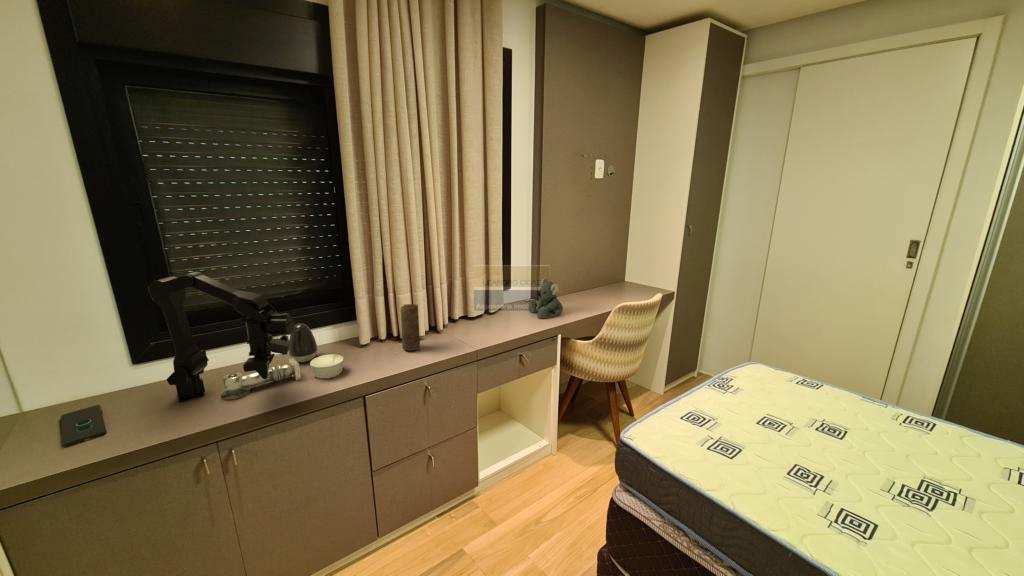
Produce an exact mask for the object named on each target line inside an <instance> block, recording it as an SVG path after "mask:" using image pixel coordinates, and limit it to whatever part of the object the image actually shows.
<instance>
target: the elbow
mask: <svg viewBox="0 0 1024 576" xmlns="http://www.w3.org/2000/svg"><path fill="white" fill-rule="evenodd" d="M222 380H223V386H224V391H225V392H226V395H236V394H239V393H241V392H243V391H244V390H245V389H246V388H250V389H251V388H252V387H256V386H259V385H263V384H267V383H270V382H273V383H274V382H275V383H276V382H278V381H280V379H279V374H278V370H277V365H273V366H269V370H268V378H267V379H263V378H262V377H261V376H260V375H259V374H258V373H257V372H256V371H255V372H253V373H252V372H251V373H248V374H245V375H243V373H242V372H233V373H229V374H226V375H224V376H223V377H222Z"/></svg>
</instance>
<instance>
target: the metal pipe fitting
mask: <svg viewBox="0 0 1024 576" xmlns="http://www.w3.org/2000/svg"><path fill="white" fill-rule="evenodd" d="M276 368H277V370H278V374H279V381H283V380H284V379H285V378H288V377H293V378H294V379H295V381H300V380H302V378H301V377H302V376H301V371H300V370H301V369H300V363H299V362H297V361H296V360H295V359H294V358H291V357H290V358H288V363H285V364H283V365H281V364H276ZM250 392H251V387H250V388H246V389H245V390H244V391H243V392H241V393H239V394H236V395H226V392H225V390H224V391H222V392H221V394H220V398H221V400H224V401H233V400H238V399H241V398H243V397H246V396H247V395H248V394H249V393H250Z"/></svg>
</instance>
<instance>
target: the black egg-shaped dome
mask: <svg viewBox="0 0 1024 576" xmlns="http://www.w3.org/2000/svg"><path fill="white" fill-rule="evenodd" d="M288 339H289V340H291V345H290V348H289V351H288V355H289V356H290V358H294V359H295V360H296V361H297V362H298V363H306V362H311V361H312V360H313V359H315V358H316V355H317V352H318V344H317V341H316V338H315V336H314V333H313V332H312V330H311V329H310V327H309V326H308V325H307V324H305V323H297V324H295V327H294V331H293V333H292V334H290V335H289V338H288Z"/></svg>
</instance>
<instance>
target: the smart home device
mask: <svg viewBox="0 0 1024 576" xmlns="http://www.w3.org/2000/svg"><path fill="white" fill-rule="evenodd" d="M106 427H107V426H106V424H105V420H104V416H103V410H102V408H101V405H100V404H96V405H92V406H88V407H85V408H82V409H78V410H74V411H70V412H67V413H63V414H61V416H60V430H61V436H62V437H61V440H62V445H63V447H64V448H69V447H71V446H75V445H78V444H81V443H85V442H87V441H90V440H94V439H96V438H100V437H103V436H105V435H107V434H108V432H107V428H106Z"/></svg>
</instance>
